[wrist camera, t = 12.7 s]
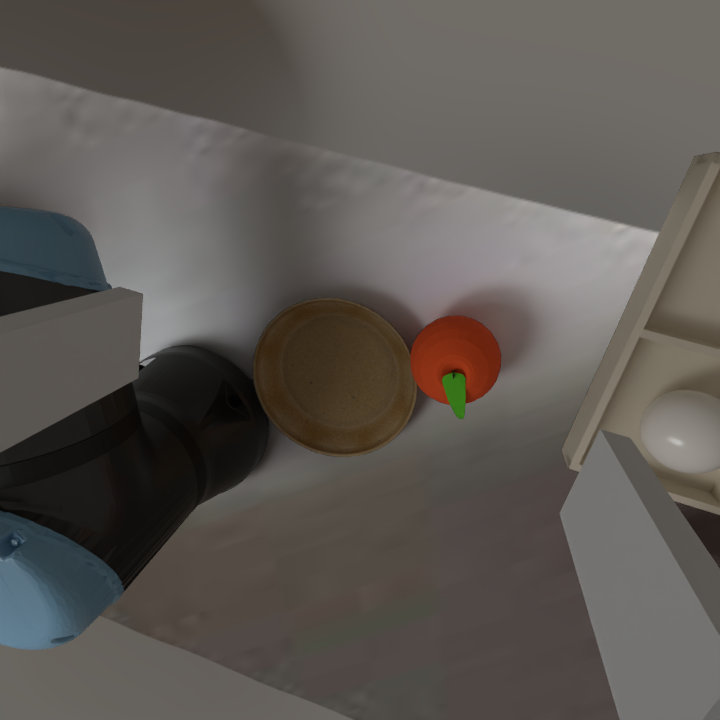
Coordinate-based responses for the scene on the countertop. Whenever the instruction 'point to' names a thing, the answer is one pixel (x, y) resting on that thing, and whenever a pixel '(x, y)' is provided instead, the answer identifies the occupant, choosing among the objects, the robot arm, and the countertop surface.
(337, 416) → the plant saucer
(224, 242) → the countertop surface
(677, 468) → the white ball
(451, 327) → the clementine
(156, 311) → the countertop surface
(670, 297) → the divided tray
